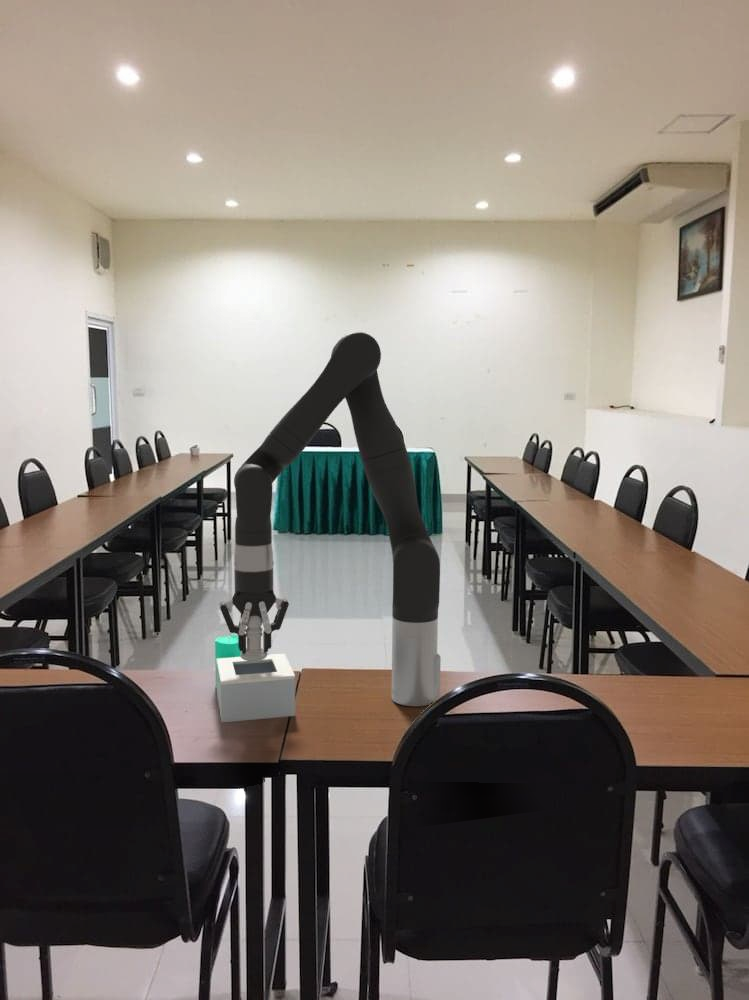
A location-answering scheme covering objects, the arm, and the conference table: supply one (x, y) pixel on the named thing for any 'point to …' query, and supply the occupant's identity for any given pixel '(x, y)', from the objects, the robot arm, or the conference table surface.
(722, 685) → the conference table surface
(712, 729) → the conference table surface
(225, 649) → the candle
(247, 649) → the chess piece
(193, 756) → the conference table surface
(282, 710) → the tissue box
